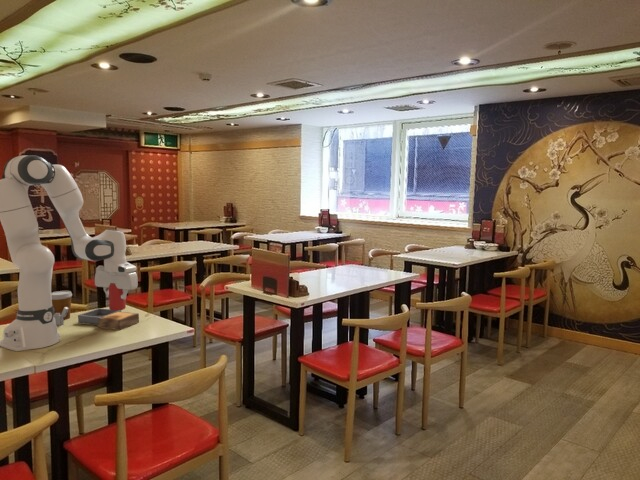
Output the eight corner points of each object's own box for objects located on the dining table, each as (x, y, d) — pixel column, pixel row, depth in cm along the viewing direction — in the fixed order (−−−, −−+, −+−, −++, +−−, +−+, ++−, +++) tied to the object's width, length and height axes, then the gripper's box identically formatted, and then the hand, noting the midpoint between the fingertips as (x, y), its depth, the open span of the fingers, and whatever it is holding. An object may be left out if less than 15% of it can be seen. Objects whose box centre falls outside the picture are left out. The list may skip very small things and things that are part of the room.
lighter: (52, 325, 209) (51, 307, 209) (55, 324, 211) (54, 306, 210) (67, 325, 209) (66, 307, 208) (70, 324, 210) (69, 306, 209)
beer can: (120, 311, 205) (119, 283, 204) (106, 310, 206) (105, 283, 205) (128, 307, 212) (128, 281, 210) (115, 307, 213) (114, 280, 212)
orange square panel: (102, 320, 207) (102, 317, 207) (117, 314, 215) (117, 312, 215) (119, 321, 204) (119, 319, 204) (134, 316, 212) (134, 313, 212)
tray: (78, 322, 213) (77, 315, 212) (99, 315, 225) (99, 308, 224) (101, 325, 209) (100, 317, 208) (121, 317, 221) (121, 310, 220)
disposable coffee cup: (54, 316, 224) (52, 291, 222) (76, 315, 225) (75, 290, 224) (47, 322, 214) (45, 295, 213) (70, 320, 216) (68, 294, 215)
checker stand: (98, 327, 206) (97, 318, 206) (117, 320, 217) (117, 311, 217) (120, 329, 202) (120, 320, 202) (139, 322, 213) (138, 313, 213)
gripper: (90, 266, 207) (91, 297, 208) (129, 269, 200) (130, 301, 202) (101, 264, 213) (102, 294, 214) (139, 267, 206) (140, 298, 208)
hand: (116, 298), depth 208 cm, fingers closed on beer can, 6 cm apart
